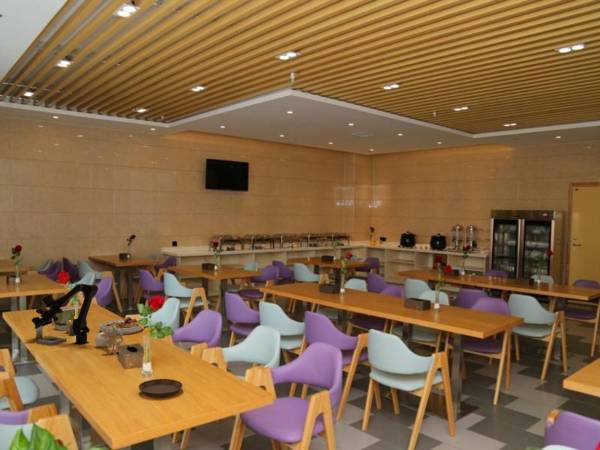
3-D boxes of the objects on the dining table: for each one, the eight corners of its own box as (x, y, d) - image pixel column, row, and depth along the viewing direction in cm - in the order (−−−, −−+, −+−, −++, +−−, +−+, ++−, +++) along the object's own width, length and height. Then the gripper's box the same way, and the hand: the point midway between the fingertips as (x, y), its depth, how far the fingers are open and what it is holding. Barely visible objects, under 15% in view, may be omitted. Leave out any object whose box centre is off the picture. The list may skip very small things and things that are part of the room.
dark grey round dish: (66, 341, 332) (66, 338, 332) (51, 345, 321) (51, 342, 321) (53, 339, 336) (53, 336, 336) (37, 343, 325) (37, 340, 325)
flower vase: (95, 358, 320) (110, 356, 302) (87, 329, 321) (102, 326, 303) (114, 351, 329) (130, 349, 311) (107, 323, 330) (122, 320, 312)
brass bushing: (73, 332, 356) (74, 320, 356) (69, 333, 352) (69, 321, 352) (69, 332, 357) (69, 319, 357) (64, 333, 354) (65, 320, 354)
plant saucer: (186, 385, 257) (186, 378, 257) (177, 400, 236) (177, 393, 236) (144, 384, 256) (145, 377, 256) (132, 399, 235) (133, 392, 235)
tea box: (61, 331, 360) (62, 310, 359) (54, 328, 366) (54, 308, 366) (81, 327, 372) (82, 307, 371) (74, 325, 378) (74, 305, 377)
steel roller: (43, 338, 339) (44, 320, 339) (38, 339, 335) (39, 321, 335) (39, 337, 340) (39, 319, 340) (34, 338, 337) (34, 320, 336)
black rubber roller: (78, 334, 351) (78, 324, 350) (73, 336, 346) (73, 326, 346) (73, 334, 352) (73, 324, 352) (68, 335, 348) (68, 325, 348)
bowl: (135, 336, 352) (135, 325, 352) (92, 335, 353) (92, 323, 353) (148, 327, 382) (149, 316, 382) (109, 325, 383) (109, 315, 383)
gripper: (55, 301, 345) (41, 315, 348) (34, 305, 327) (19, 321, 330) (64, 313, 343) (50, 328, 346) (44, 318, 325) (29, 334, 328)
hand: (37, 327), depth 338 cm, fingers closed on steel roller, 4 cm apart
